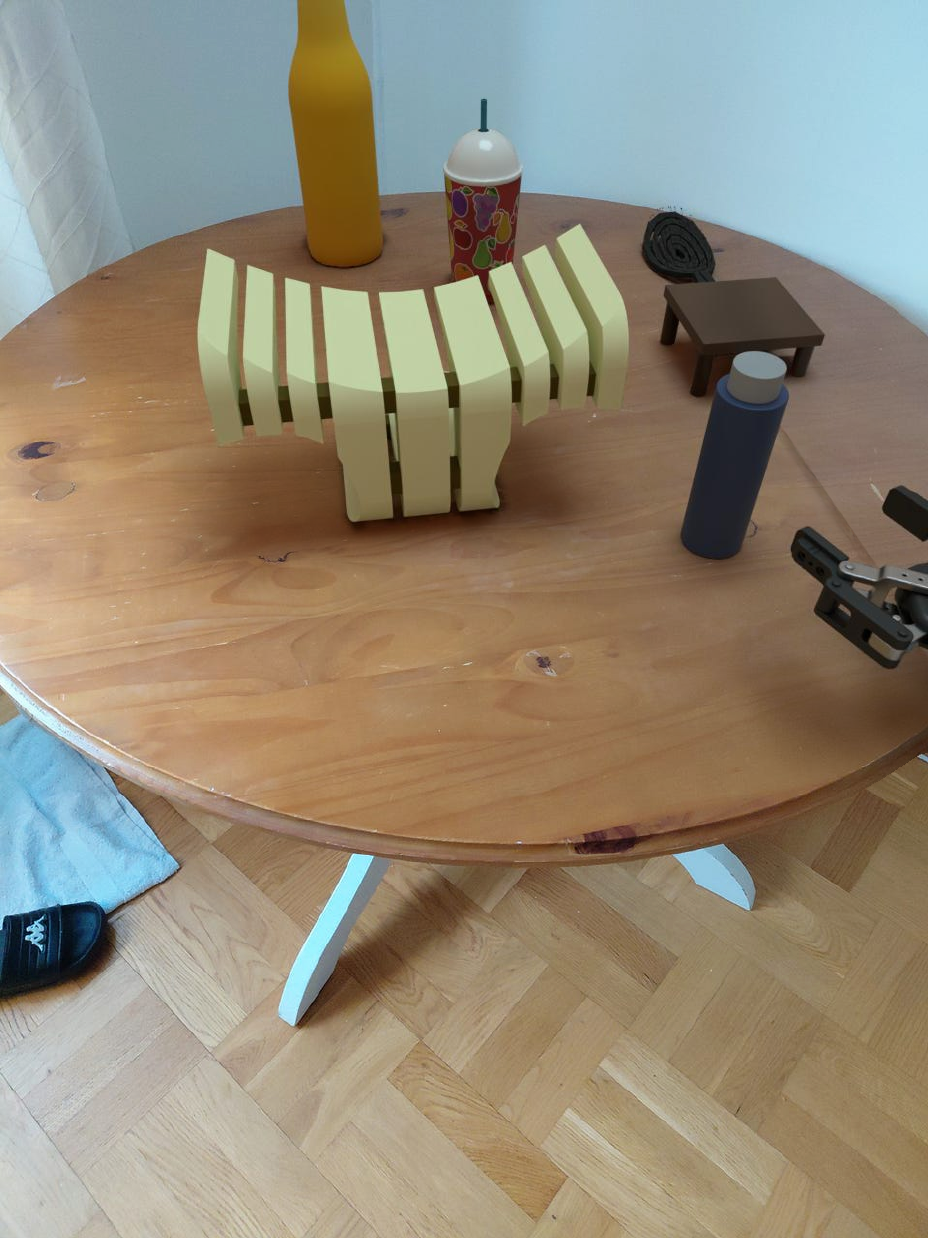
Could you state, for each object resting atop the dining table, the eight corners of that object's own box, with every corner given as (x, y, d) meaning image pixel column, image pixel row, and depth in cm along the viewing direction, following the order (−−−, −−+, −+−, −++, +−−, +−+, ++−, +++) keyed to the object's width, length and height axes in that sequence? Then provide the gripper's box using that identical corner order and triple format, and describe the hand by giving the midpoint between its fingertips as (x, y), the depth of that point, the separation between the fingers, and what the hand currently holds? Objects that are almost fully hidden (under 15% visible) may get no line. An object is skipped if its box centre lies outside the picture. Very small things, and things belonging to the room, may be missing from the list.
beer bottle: (294, 251, 107) (252, -36, 86) (353, 229, 112) (326, -49, 90) (339, 276, 103) (306, -21, 81) (398, 252, 107) (382, -36, 86)
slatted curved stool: (245, 551, 70) (194, 352, 57) (249, 437, 80) (207, 248, 67) (604, 515, 73) (634, 318, 60) (562, 409, 83) (579, 223, 70)
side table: (761, 330, 94) (776, 276, 89) (806, 389, 86) (825, 334, 81) (655, 338, 93) (665, 284, 88) (691, 399, 85) (703, 343, 80)
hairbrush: (691, 312, 91) (637, 205, 107) (684, 343, 94) (632, 234, 109) (767, 309, 91) (702, 202, 107) (758, 340, 94) (695, 232, 110)
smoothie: (509, 273, 103) (516, 84, 88) (524, 306, 98) (534, 110, 83) (440, 279, 102) (436, 88, 87) (451, 312, 97) (449, 115, 82)
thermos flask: (729, 516, 73) (780, 343, 61) (751, 556, 69) (809, 381, 58) (672, 521, 72) (712, 348, 60) (691, 562, 69) (738, 387, 57)
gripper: (948, 772, 48) (749, 593, 58) (1106, 676, 53) (898, 525, 62) (1011, 689, 43) (779, 506, 52) (1181, 589, 47) (940, 438, 57)
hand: (844, 516), depth 57 cm, fingers open, 8 cm apart
